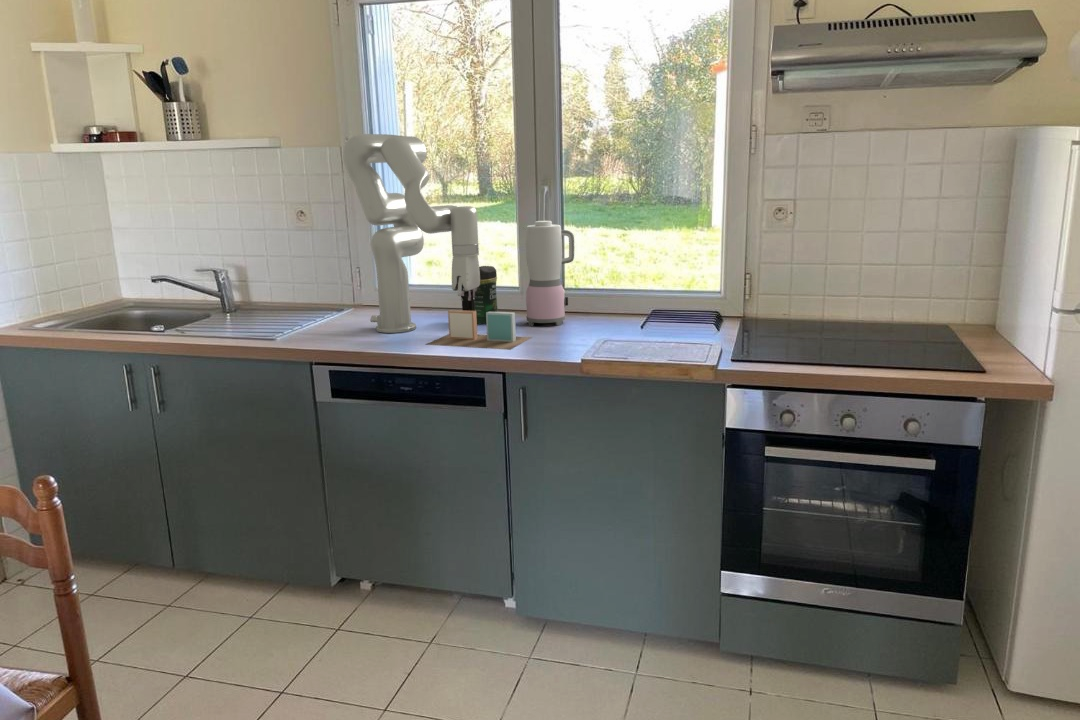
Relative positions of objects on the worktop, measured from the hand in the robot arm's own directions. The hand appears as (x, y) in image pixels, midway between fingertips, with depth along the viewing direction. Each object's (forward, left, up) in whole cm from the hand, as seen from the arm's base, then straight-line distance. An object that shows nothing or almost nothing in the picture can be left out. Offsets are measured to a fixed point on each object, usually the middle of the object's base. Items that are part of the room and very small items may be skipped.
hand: (468, 313), depth 238 cm
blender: (+15, +28, -8) cm, 33 cm away
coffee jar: (-5, +21, -8) cm, 23 cm away
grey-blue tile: (+12, -4, -6) cm, 14 cm away
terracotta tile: (0, -4, -7) cm, 8 cm away
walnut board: (+6, -6, -8) cm, 11 cm away
